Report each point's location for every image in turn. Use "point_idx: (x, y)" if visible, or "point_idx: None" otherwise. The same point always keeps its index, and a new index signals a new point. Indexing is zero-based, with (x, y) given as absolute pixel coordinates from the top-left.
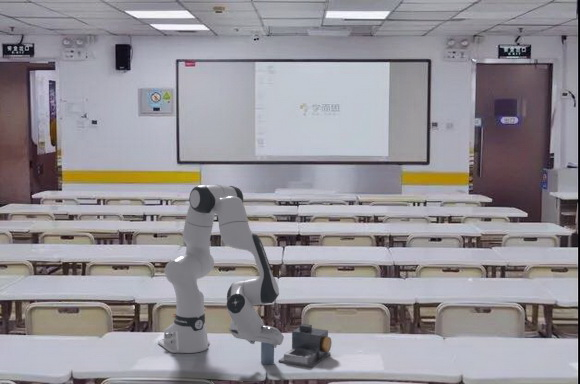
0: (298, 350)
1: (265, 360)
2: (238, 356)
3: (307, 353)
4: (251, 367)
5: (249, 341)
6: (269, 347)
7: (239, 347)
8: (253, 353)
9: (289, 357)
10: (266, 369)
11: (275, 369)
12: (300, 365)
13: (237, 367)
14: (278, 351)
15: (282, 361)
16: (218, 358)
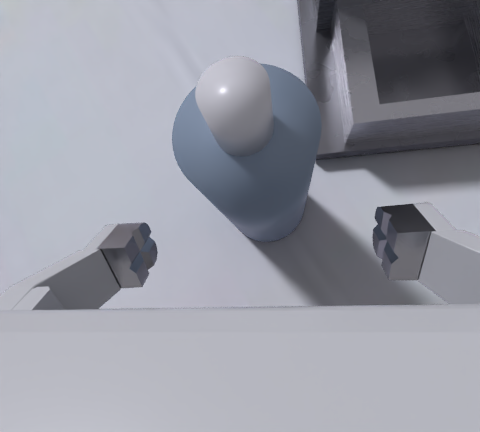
0: (375, 9)
1: (273, 236)
2: (85, 196)
3: (439, 6)
4: None
5: (109, 297)
6: (299, 201)
7: (41, 93)
8: (130, 121)
9: (393, 127)
10: (318, 297)
11: (365, 269)
12: (466, 143)
13: None
14: (221, 34)
15: (339, 154)
16: (11, 274)
